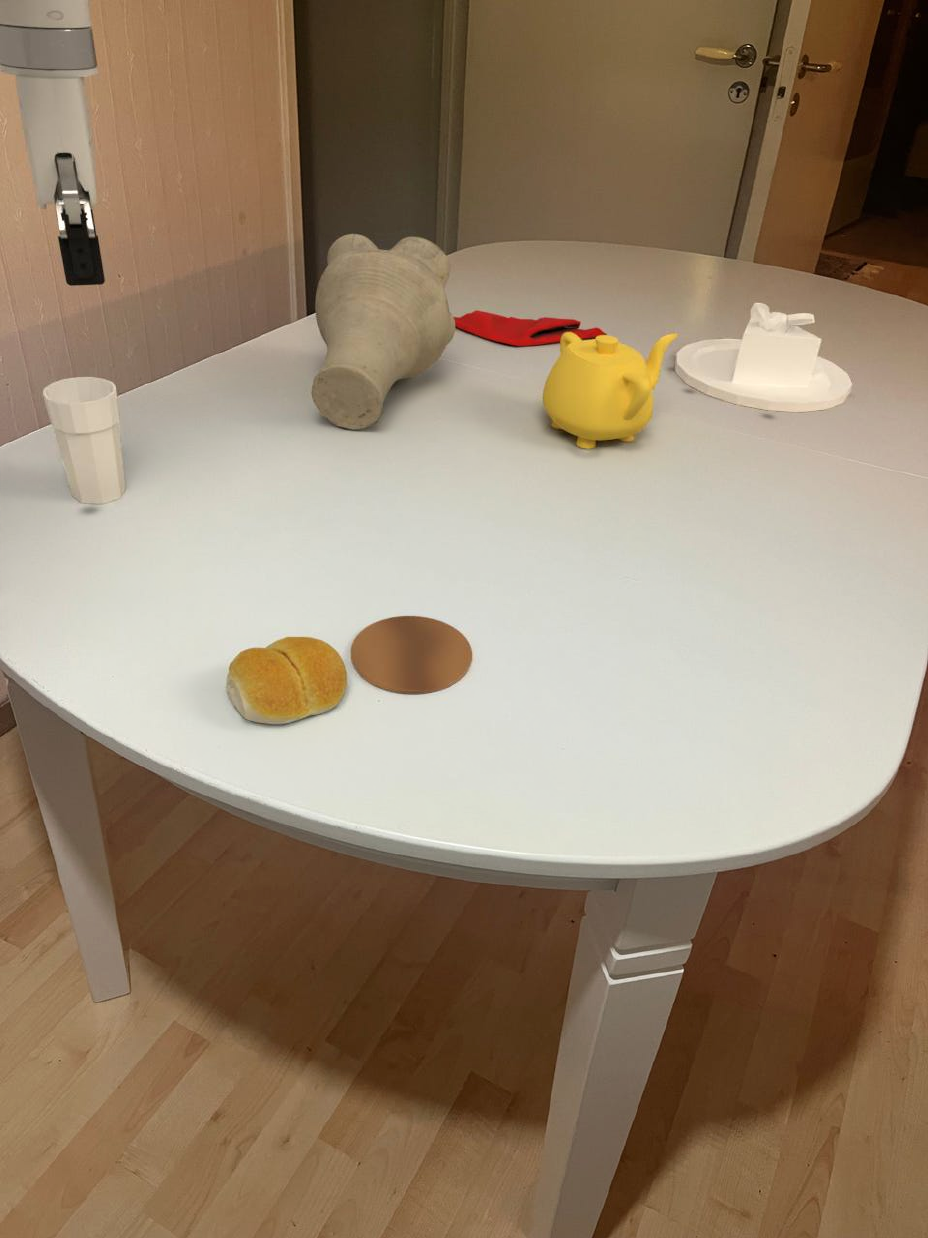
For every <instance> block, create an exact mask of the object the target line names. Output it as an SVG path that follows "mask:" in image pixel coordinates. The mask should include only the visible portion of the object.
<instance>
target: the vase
mask: <svg viewBox="0 0 928 1238" xmlns="http://www.w3.org/2000/svg"><path fill="white" fill-rule="evenodd" d="M326 258H327V259H326V261H327V265H326V268H325V269H324V270H323V272H322V274H321V276H320V279H319V280H318V284H317V288H316V294H315V304H314V305H315V306H314V308H315V319H316V324H317V327H318V331H319V334H320V336H321V338H322V340H323V342H324V344H325V346H326V347H327V348H326V350H327V351H326V355H325V360H324V364H323V366H322V368H321V369H320V370H319V371H318V373H317V374H316V376H315V377H314V379H313V382H312V387H311V398H312V400H313V403H314V405H315V407H316V409H317V411H318V412H319V413H320V414H321V415H322V416H323V417H324V418H325V419H326V420H328V422H330V423H331V424H333V425H335V426H337V427H340V428H344V429H348V430H352V431H354V430H362V429H363V430H364V429H366V428H368V427H370V426H371V425H374V424H376V422H377V421H379V420H380V418H381V416H382V413H383V408H384V407H383V406H384V402H385V400H386V397H387V395H388V393H389V391H390V390H391V388H392V386H393V385H394V384H395V382H397V381H400V380H406V379H409V378H413V377H415V376H417V375H419V374H421V373H423V372H425V371H426V370H428V369H430V367H432V366H433V365H434V364H435V363H436V362H437V361H438V360H439V359H440V358H441V356H442V355H443V353H444V352H445V349H446V348H447V346H448V345H449V344H450V343H451V342H452V341H453V338H454V337H455V333H456V327H455V321H454V318H453V317H454V316H453V314H452V313H451V311H450V305H449V300H448V296H447V294H446V293H447V292H446V291H445V288H446V287H447V283H448V281H449V278H450V275H451V271H452V268H451V267H452V266H451V262H450V260H449V258H448V257H447V255H446V253H445V252H444V251H443V250H442V249H441V248H440V247H439V246H438V245H437V244H435V243H434V242H433V241H430V240H429V239H426V238H424V237H421V236H405V237H404V238H402V239H400V240H399V241H398V242H397V243H396V244H395V245H394V246H393V247H392V248H390V249H380V248H379V247H378V246H377V245H376V244H374V242H373V241H372V240H371V239H369V238H368V237H367V236H365V235H361V234H358V233H348V234H344V235H342V236H340V237H338V238H337V239H336V240H335V241H333V243H332V244H331V246H330V247H329V249H328V252H327V257H326Z"/></svg>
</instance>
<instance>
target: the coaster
mask: <svg viewBox="0 0 928 1238" xmlns="http://www.w3.org/2000/svg"><path fill="white" fill-rule="evenodd" d="M350 660H351V664H352V667H353V668H354V670H355V671H356V673H357V674H358V675H359V676H360V677H361V678H362V679H363V680H365V681H366V682H368V683H369V684H371V685H373V686H374V687H377V688H379V689H382V690H384V691H388V692H392V693H397V694H403V695H404V694H405V695H422V694H423V695H425V694H430V693H435V692H438V691H442V690H444V689H447V688H450V687H451V686H453V685H455V684H457V683H458V682H459V681H460V680H462V679H463V678H464V677H465V676H466V675H467V673H468V672H469V670H470V667H471V665H472V661H473V651H472V647H471V644H470V642H469V640H468V639H467V637H466V636H465V635H464V633H462V632H461V631H460V630H458V629H457V628H456V627H454V626H452V625H450V624H448V623H446V622H444V621H441V620H439V619H435V618H431V617H427V616H421V615H399V616H392V617H388V618H383V619H380V620H378V621H376V622H373V623H371V624H369V625H368V626H365V627H364V628H363V629H362V630H361V631H359V633H357V635H356V636H355V638H354V639H353V641H352V643H351V647H350Z"/></svg>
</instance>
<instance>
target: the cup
mask: <svg viewBox="0 0 928 1238" xmlns="http://www.w3.org/2000/svg"><path fill="white" fill-rule="evenodd" d="M42 396H43V399H44V404H45V408H46V410H47V415H48V418H49V423H50V424H51V426H52V427H53V431H54V434H55V438H56V441H57V446H58V448H59V453H60V456H61V459H62V464H63V467H64V470H65V474H66V478H67V481H68V485H69V489H70V494H71V497H73V498H74V499H76V500H77V501H78V502H80V503H81V504H88V505H89V504H90V505H91V504H93V505H104V504H107V503H109V502H112V501H116V500H118V499H122V497H123V495H124V494H125V491H126V489H127V486H126V480H125V470H124V461H123V450H122V442H121V441H122V440H121V432H120V424H119V423H120V422H119V421H120V410H119V400H118V392H117V386H116V384H114V382H113V381H111V380H108V379H105V378H100V377H94V376H77V377H76V376H75V377H69V378H63V379H60V380H57V381H54V382H51V383H49V385H47V386H45V387H44V388H43V391H42Z"/></svg>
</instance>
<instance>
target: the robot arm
mask: <svg viewBox="0 0 928 1238" xmlns="http://www.w3.org/2000/svg"><path fill="white" fill-rule="evenodd" d="M94 40H95V39H94V33H93V28H92V19H91V13H90V6H89V0H0V72H1V73H4V74H7V75H13V76H15V83H16V92H17V100H18V107H19V113H20V119H21V123H22V129H23V135H24V139H25V140H24V141H25V146H26V151H27V155H28V161H29V162H28V163H29V166H30V171H31V177H32V183H33V188H34V193H35V198H36V204H37V206H39V207H40V209H42V210H47V205H53V203H54V208H55V214H56V220H57V225H58V231H59V236H57V239H58V245H59V250H60V256H61V257H60V258H61V262H62V267H63V273H64V278H65V282H66V284H67V286H71V287H74V286H98V285H99V286H100V285H103V284H105V282H106V279H105V272H104V271H105V270H104V266H103V260H102V253H101V247H100V241H99V235H97V231H96V225H95V219H94V218H95V217H94V212H93V208H95V207H96V206H97V204H98V187H97V171H96V170H97V168H96V157H95V150H94V149H95V148H94V141H93V132H92V131H93V130H92V124H91V117H90V110H89V103H88V97H87V90H86V83H85V82H86V81H85V78H87V77H94V76H97V75H99V68H98V67H99V66H98V61H97V53H96V48H95V41H94Z"/></svg>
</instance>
